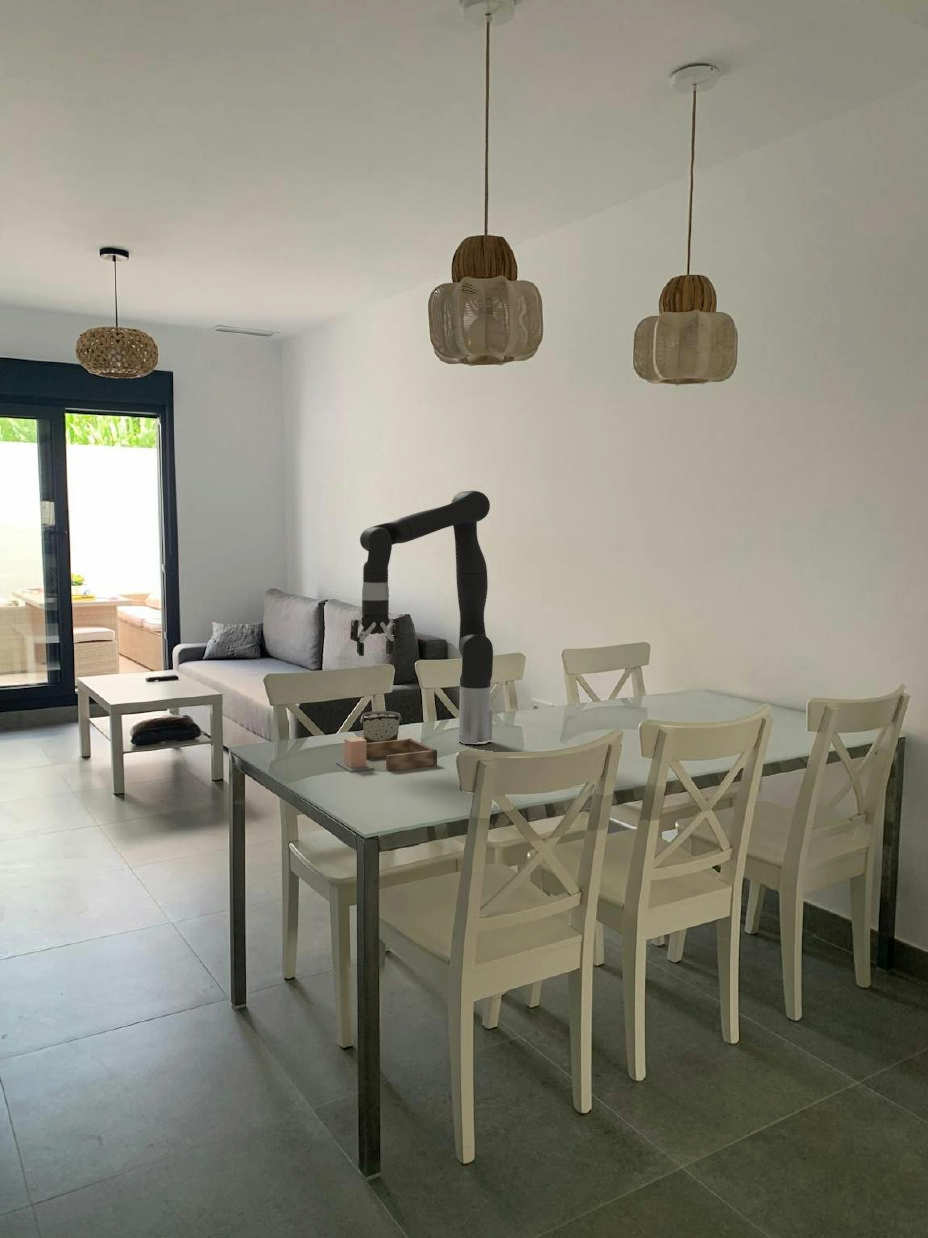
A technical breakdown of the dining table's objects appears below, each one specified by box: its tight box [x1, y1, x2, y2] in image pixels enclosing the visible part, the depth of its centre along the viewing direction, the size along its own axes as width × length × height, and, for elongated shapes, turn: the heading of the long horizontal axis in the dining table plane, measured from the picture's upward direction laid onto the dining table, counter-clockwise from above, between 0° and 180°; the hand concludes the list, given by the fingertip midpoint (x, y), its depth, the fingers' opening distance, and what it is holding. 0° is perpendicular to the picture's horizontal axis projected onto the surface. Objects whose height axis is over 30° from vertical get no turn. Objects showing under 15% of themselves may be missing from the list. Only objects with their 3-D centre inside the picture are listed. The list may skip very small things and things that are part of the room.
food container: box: [360, 710, 403, 743], centre depth 284 cm, size 12×6×10 cm, turn 111°
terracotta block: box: [343, 736, 367, 768], centre depth 260 cm, size 4×4×7 cm
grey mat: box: [335, 760, 375, 773], centre depth 260 cm, size 7×10×1 cm
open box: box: [366, 738, 438, 772], centre depth 266 cm, size 15×16×4 cm
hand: (375, 654), depth 274 cm, fingers open, 8 cm apart
